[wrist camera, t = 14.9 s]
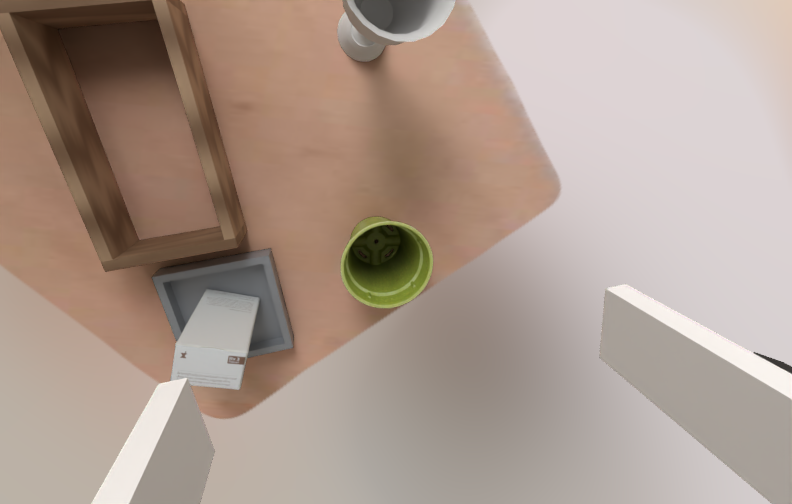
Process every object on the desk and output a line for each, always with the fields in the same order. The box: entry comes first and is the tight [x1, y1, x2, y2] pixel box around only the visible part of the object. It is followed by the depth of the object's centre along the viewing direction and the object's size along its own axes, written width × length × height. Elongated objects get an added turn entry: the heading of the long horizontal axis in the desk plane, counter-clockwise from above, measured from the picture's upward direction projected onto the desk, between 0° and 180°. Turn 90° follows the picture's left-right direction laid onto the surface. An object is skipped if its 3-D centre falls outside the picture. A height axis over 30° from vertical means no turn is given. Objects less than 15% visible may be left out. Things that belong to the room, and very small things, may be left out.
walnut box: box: [0, 0, 247, 272], centre depth 36 cm, size 22×12×6 cm, turn 7°
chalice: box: [337, 0, 455, 62], centre depth 31 cm, size 7×7×18 cm
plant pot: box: [341, 217, 433, 308], centre depth 43 cm, size 9×9×9 cm
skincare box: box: [170, 289, 260, 390], centre depth 40 cm, size 6×4×12 cm
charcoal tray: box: [152, 248, 294, 358], centre depth 45 cm, size 12×12×2 cm
